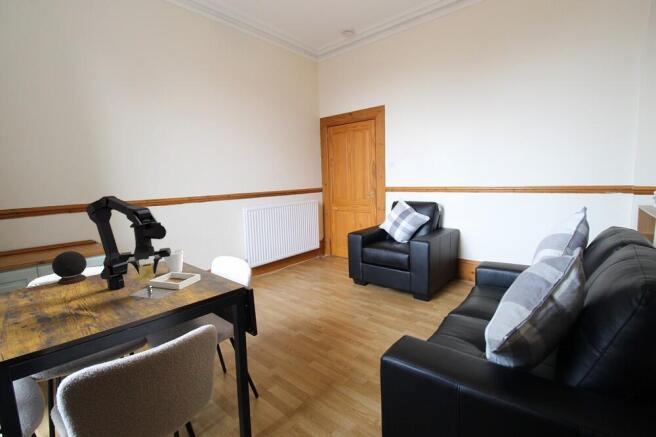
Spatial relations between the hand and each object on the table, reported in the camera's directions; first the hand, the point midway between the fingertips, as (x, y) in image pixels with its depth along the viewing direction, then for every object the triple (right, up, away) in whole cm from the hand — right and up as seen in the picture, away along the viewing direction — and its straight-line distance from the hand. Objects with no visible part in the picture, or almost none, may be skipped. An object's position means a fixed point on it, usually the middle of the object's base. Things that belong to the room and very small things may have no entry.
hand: (147, 274), depth 132 cm
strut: (+1, -1, -3) cm, 3 cm away
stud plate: (+2, -9, +1) cm, 9 cm away
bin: (+6, -7, +13) cm, 15 cm away
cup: (-3, -5, +31) cm, 31 cm away
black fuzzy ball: (-51, -8, +24) cm, 57 cm away
